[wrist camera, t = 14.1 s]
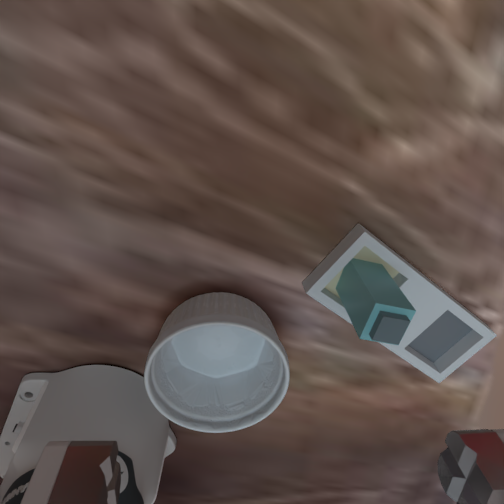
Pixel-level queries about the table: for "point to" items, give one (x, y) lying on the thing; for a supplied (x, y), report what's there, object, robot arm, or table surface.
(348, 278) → the teal plug
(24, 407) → the robot arm
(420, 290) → the socket panel
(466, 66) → the table surface
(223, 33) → the table surface
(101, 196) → the table surface
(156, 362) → the ramekin
